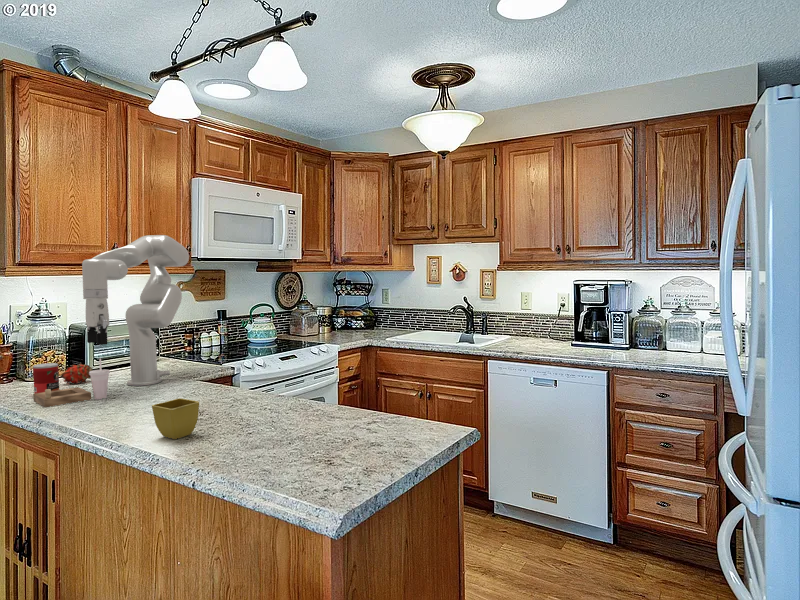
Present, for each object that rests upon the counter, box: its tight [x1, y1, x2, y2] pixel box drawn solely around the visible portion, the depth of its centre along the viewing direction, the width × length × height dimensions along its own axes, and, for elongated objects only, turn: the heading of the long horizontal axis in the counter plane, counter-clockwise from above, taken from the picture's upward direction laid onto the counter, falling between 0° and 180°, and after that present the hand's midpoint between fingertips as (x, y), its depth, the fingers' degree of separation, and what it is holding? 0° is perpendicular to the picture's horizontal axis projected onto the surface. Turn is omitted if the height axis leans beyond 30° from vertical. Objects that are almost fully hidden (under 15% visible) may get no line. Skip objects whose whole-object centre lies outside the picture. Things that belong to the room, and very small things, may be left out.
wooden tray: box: [33, 386, 92, 408], centre depth 189 cm, size 14×14×6 cm
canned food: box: [32, 362, 60, 394], centre depth 199 cm, size 8×8×11 cm
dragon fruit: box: [59, 362, 94, 384], centre depth 219 cm, size 8×8×12 cm
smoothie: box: [89, 357, 111, 400], centre depth 192 cm, size 6×6×14 cm
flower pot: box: [151, 398, 200, 440], centre depth 146 cm, size 9×9×9 cm
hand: (97, 343), depth 191 cm, fingers open, 9 cm apart
